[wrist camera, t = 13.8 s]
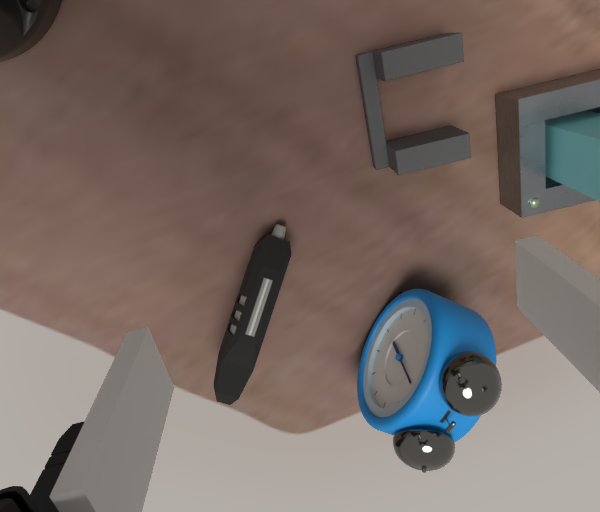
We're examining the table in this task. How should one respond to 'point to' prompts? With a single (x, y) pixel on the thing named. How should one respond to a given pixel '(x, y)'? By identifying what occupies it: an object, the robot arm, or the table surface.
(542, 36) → the table surface
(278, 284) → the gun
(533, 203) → the port panel
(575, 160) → the plug
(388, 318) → the alarm clock
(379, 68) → the grey u-shaped bracket
